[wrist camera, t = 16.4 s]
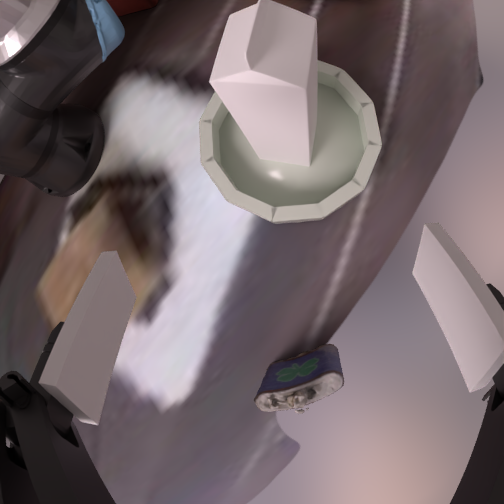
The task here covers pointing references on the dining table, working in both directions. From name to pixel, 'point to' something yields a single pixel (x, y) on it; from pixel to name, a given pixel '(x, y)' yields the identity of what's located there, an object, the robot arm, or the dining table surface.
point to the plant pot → (130, 5)
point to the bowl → (291, 175)
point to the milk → (271, 79)
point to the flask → (300, 380)
